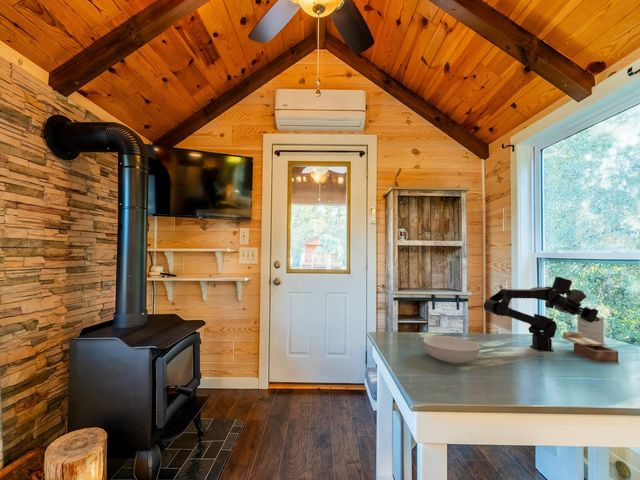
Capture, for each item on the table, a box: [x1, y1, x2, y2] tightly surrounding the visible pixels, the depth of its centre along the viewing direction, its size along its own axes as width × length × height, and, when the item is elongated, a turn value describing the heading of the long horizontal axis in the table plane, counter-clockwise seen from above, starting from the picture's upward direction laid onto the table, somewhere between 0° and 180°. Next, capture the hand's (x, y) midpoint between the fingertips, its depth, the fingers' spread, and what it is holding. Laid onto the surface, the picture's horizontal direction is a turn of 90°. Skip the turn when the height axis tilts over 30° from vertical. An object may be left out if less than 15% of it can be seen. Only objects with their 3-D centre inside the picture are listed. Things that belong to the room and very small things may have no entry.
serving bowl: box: [422, 335, 481, 364], centre depth 128 cm, size 21×21×7 cm
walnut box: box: [573, 342, 619, 363], centre depth 133 cm, size 9×11×4 cm
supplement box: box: [576, 314, 605, 344], centre depth 158 cm, size 7×7×13 cm
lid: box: [561, 332, 605, 347], centre depth 140 cm, size 9×11×2 cm
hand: (589, 316), depth 147 cm, fingers open, 9 cm apart
